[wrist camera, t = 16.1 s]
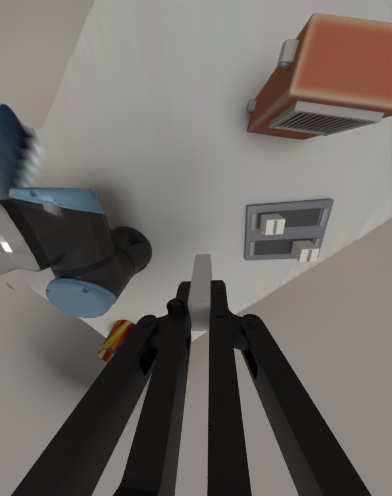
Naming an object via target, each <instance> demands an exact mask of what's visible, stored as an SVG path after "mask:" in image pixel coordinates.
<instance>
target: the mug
mask: <svg viewBox="0 0 392 496" xmlns="http://www.w3.org/2000/svg"><path fill="white" fill-rule="evenodd" d="M134 327H135V324H134V323H132V322H131V321H128V320H119V321H117V322H116V323H115V325H114V327H113V328H112V330H111V332H110V333H109V335H108V337H107V338H106V340H105V342H104V344H103V345H102V347H101V348H100V350H99V352H98V355H99V357H100V358H101V359H102V360H104V361H106V362H109V361H110V360H111V358H112V357H113V355H114V354H115V353H116V351H117V350H118V349H119V347H120V346H121V345H122V343H123V342H124V340H125V339H126V338H127V336H128V335H129V334H130V332H131V331H132V329H133V328H134Z"/></svg>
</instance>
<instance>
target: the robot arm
mask: <svg viewBox="0 0 392 496" xmlns="http://www.w3.org/2000/svg"><path fill="white" fill-rule="evenodd" d="M8 195H9V197H10V198H12V199H7V200H0V275H1V274H4V273H7V272H10V271H13V270H16V269H26V270H31V271H36V272H38V271H41V270H44V269H46V268H49V267H50V268H51V270H52V271H53V273H54V275H55V279H54V280H52V281H50V283H49V285H48V286H47V289H46V295H47V298H48V299H49V300H50V302H51V303H52V304H53V305H55V306H56V307H57V308H59V309H60V310H62V311H64V312H66V313H69V314H71V315H74V316H77V317H82V318H95V317H99V316H102V315H103V314H105V313H106V312H107V311H108V310H109V309H110V307H111V306H112V305H113V304H114V303H115V302H116V300H117V299H118V297H119V296H120V294H121V293H122V291H123V290H124V288H125V287H126V285H127V284H128V282H129V281H130V279H131V278H132V276H133V275H135V274H136V273H138V272H140V271H141V270H143V269H144V268H145V267H146V266H147V265H148V263H149V262H150V260H151V257H152V249H151V246H150V243H149V242H148V240H147V239H146V238H145V236H143V235H142V234H141V233H140V232H138V231H137V230H134V229H132V228H128V227H118V228H115V229H113V230H111V231H110V229H109V225H108V222H107V218H106V215H105V214H106V212H105V211H104V210H103V207H102V204H101V201H100V199H99V196H98V195H97V194H96V193H95V192H94V191H92V190H89V189H81V188H11V189H9V194H8ZM167 309H168V314H167V315H165V316H163V317H159V318H156V317H155V316H154V315H146V316H144V317H142V318H141V319H140V320H139V321H138V323H137V324H136V325H135V327H134V328H133V329H132V331H131V332H130V334H129V335H128V336H127V338H126V339H125V340H124V342H123V343H122V345H121V346H120V347H119V349H118V350H117V351H116V353H115V354H114V355H113V357H112V358H111V360H110V361H109V362H108V364H107V365H106V366H105V368H104V369H103V371H102V372H101V373H100V375H99V376H98V377H97V379H96V380H95V382H94V383H93V384H92V386H91V387H90V388H89V390H88V391H87V392H86V394H85V395H84V397H83V398H82V399H81V401H80V402H79V403H78V405H77V406H76V408H75V409H74V411H73V412H72V413H71V414H70V416H69V417H68V419H67V420H66V421H65V423H64V424H63V425H62V427H61V428H60V429H59V431H58V432H57V434H56V435H55V436H54V438H53V439H52V440H51V442H50V443H49V445H48V446H47V447H46V449H45V450H44V451H43V453H42V454H41V456H40V457H39V458H38V460H37V461H36V462H35V464H34V465H33V467H32V468H31V469H30V471H29V472H28V473H27V475H26V476H25V478H24V479H23V480H22V482H21V483H20V484H19V486H18V487H17V488H16V490H15V491H14V493H13V494H12V495H11V496H91V495H92V493H93V491H94V489H95V487H96V485H97V483H98V481H99V479H100V477H101V475H102V473H103V471H104V469H105V467H106V465H107V463H108V460H109V458H110V456H111V455H112V453H113V450H114V448H115V446H116V444H117V442H118V440H119V438H120V436H121V434H122V432H123V430H124V428H125V426H126V424H127V422H128V420H129V418H130V415H131V414H132V412H133V410H134V408H135V405H136V404H137V401H138V400H139V398H140V395H141V393H142V391H143V389H144V387H145V385H146V383H147V381H148V379H149V377H150V375H151V373H152V375H151V378H150V382H149V385H148V389H147V393H146V396H145V400H144V403H143V407H142V411H141V414H140V418H139V421H138V425H137V428H136V432H135V435H134V439H133V443H132V446H131V450H130V453H129V457H128V460H127V464H126V468H125V471H124V475H123V478H122V481H121V483H120V485H119V487H118V489H117V490H116V492H115V493H114V495H113V496H174V495H175V485H176V476H177V466H178V458H179V447H180V439H181V430H182V420H183V411H184V402H185V393H186V383H187V374H188V365H189V355H190V347H191V327H192V331H209V408H208V415H209V416H208V491H207V496H252V495H251V486H250V478H249V470H248V463H247V454H246V446H245V437H244V429H243V421H242V413H241V404H240V396H239V388H238V380H237V372H236V364H235V355H234V348H236V349H239V350H241V353H242V355H243V358H244V360H245V362H246V365H247V367H248V370H249V372H250V375H251V377H252V380H253V382H254V385H255V387H256V390H257V392H258V395H259V397H260V400H261V402H262V405H263V407H264V410H265V412H266V415H267V417H268V420H269V422H270V425H271V427H272V430H273V432H274V435H275V437H276V440H277V442H278V445H279V447H280V450H281V452H282V454H283V457H284V460H285V462H286V464H287V467H288V470H289V472H290V475H291V477H292V479H293V482H294V484H295V487H296V489H297V492H298V495H299V496H371V494H370V493H369V491H368V489H367V488H366V486H365V485H364V483H363V481H362V480H361V478H360V476H359V475H358V473H357V472H356V470H355V468H354V467H353V465H352V464H351V462H350V460H349V459H348V457H347V456H346V454H345V452H344V451H343V449H342V448H341V446H340V444H339V443H338V442H337V440H336V438H335V437H334V435H333V433H332V432H331V430H330V428H329V427H328V425H327V424H326V422H325V420H324V419H323V417H322V416H321V414H320V412H319V411H318V409H317V408H316V406H315V404H314V403H313V401H312V400H311V398H310V397H309V395H308V393H307V392H306V390H305V388H304V387H303V385H302V384H301V382H300V380H299V379H298V377H297V375H296V374H295V372H294V371H293V369H292V367H291V366H290V365H289V363H288V361H287V359H286V358H285V356H284V355H283V353H282V351H281V350H280V348H279V347H278V345H277V343H276V342H275V340H274V339H273V337H272V335H271V334H270V332H269V331H268V329H267V327H266V326H265V324H264V323H263V321H262V320H261V319H260V317H258V316H256V315H253V314H247V315H244V316H243V317H240V316H237V315H234V314H233V313H231V312H230V310H229V309H228V303H227V295H226V286H225V283H224V282H223V280H212V271H211V256H210V254H203V255H196V256H195V262H194V268H193V274H192V280H191V281H187V282H181V284H180V285H179V287H178V291H177V294H176V298H174V299H172V300H170V301H169V302H168V303H167Z"/></svg>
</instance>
